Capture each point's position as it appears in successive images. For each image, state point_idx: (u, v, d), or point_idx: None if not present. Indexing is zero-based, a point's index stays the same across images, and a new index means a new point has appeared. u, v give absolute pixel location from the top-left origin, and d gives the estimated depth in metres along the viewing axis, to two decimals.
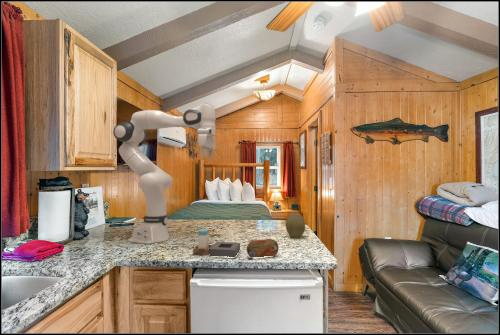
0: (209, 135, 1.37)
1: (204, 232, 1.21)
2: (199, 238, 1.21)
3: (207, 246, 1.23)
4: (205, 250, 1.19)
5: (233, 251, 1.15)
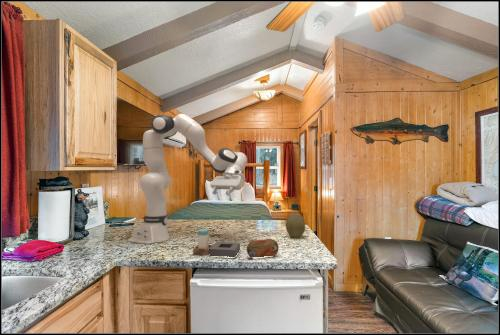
0: None
1: (204, 232, 1.21)
2: (199, 238, 1.21)
3: (207, 246, 1.23)
4: (205, 250, 1.19)
5: (233, 251, 1.15)
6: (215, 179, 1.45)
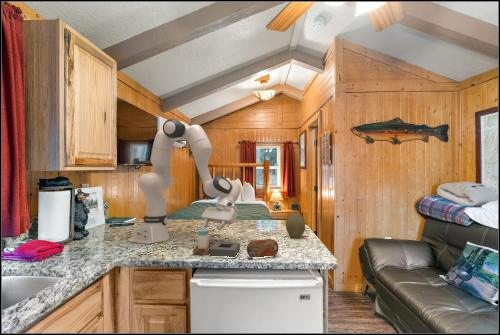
0: None
1: (204, 232, 1.21)
2: (199, 238, 1.21)
3: (207, 246, 1.23)
4: (205, 250, 1.19)
5: (233, 251, 1.15)
6: (207, 210, 1.37)
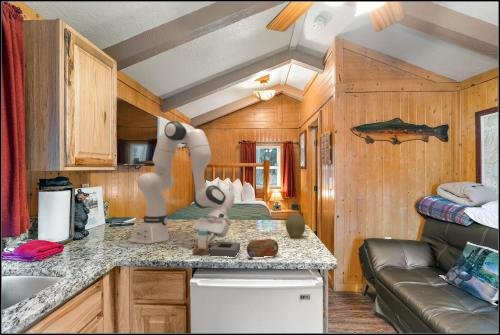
0: None
1: (204, 232, 1.21)
2: (199, 238, 1.21)
3: (207, 246, 1.23)
4: (205, 250, 1.19)
5: (233, 251, 1.15)
6: (198, 221, 1.31)
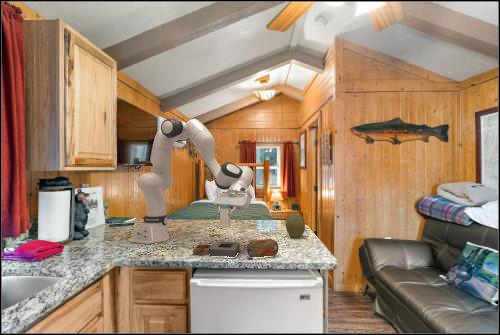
0: None
1: (226, 205, 1.19)
2: (221, 211, 1.20)
3: (229, 220, 1.21)
4: (205, 250, 1.19)
5: (233, 251, 1.15)
6: (218, 197, 1.30)
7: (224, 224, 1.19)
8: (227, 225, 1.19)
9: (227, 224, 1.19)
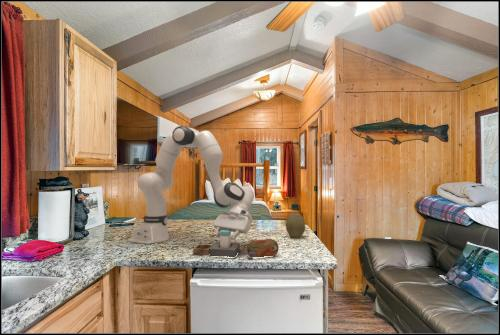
0: None
1: (226, 233, 1.19)
2: (221, 239, 1.20)
3: (229, 247, 1.21)
4: (205, 250, 1.19)
5: (233, 251, 1.15)
6: (219, 218, 1.30)
7: None
8: None
9: None
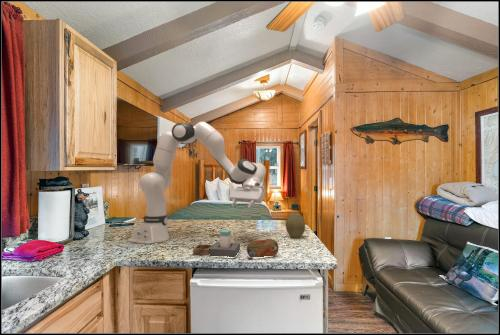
0: None
1: (226, 233, 1.19)
2: (221, 239, 1.20)
3: (229, 247, 1.21)
4: (205, 250, 1.19)
5: (233, 251, 1.15)
6: (234, 191, 1.41)
7: None
8: None
9: None
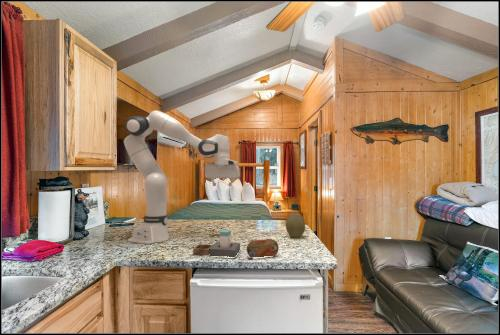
0: None
1: (226, 233, 1.19)
2: (221, 239, 1.20)
3: (229, 247, 1.21)
4: (205, 250, 1.19)
5: (233, 251, 1.15)
6: (208, 170, 1.46)
7: None
8: None
9: None
